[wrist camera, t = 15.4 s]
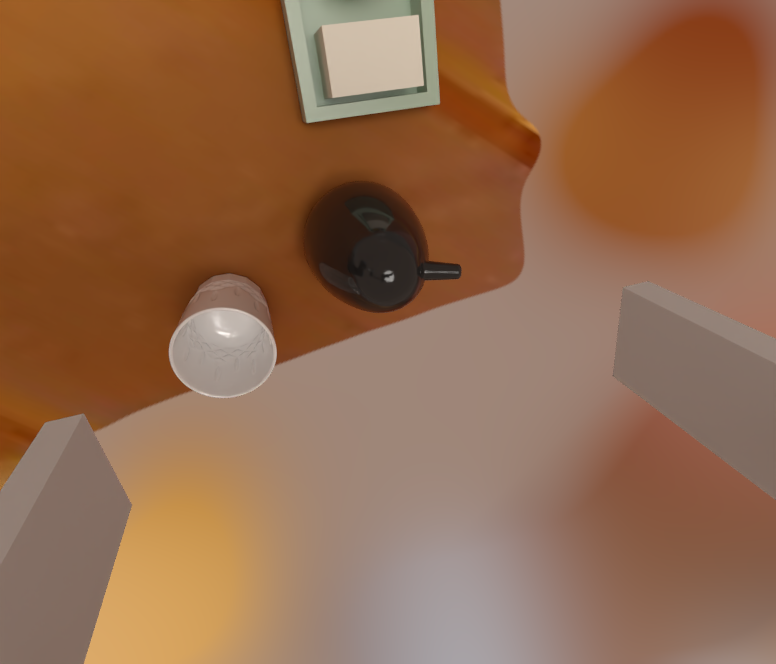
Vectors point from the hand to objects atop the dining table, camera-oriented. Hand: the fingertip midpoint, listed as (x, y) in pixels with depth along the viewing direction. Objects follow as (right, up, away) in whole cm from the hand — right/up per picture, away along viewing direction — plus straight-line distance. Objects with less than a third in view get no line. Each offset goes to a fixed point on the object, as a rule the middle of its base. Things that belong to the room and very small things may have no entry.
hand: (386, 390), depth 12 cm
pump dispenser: (-3, +11, +34) cm, 36 cm away
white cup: (-15, +4, +34) cm, 37 cm away
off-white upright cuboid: (-2, +23, +27) cm, 36 cm away
